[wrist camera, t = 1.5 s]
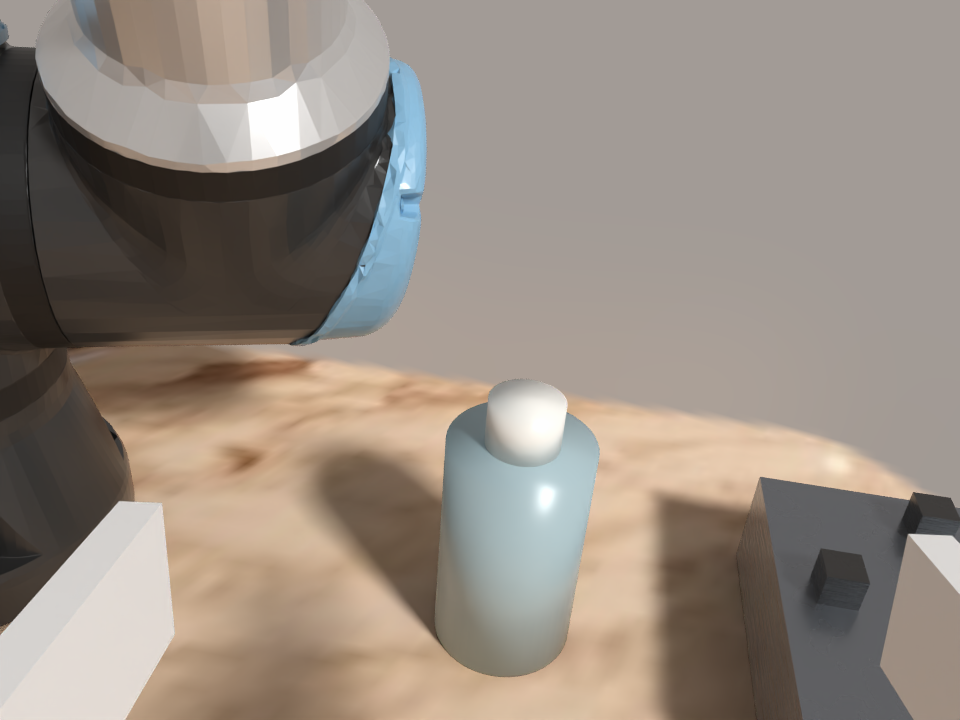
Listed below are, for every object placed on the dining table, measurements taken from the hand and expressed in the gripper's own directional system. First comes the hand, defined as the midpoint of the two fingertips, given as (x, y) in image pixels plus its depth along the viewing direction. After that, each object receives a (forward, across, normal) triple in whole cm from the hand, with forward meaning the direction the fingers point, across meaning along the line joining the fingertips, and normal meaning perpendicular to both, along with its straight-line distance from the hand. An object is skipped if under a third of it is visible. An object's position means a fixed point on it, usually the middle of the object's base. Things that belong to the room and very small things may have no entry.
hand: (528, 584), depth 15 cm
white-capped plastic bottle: (+20, 0, -15) cm, 25 cm away
